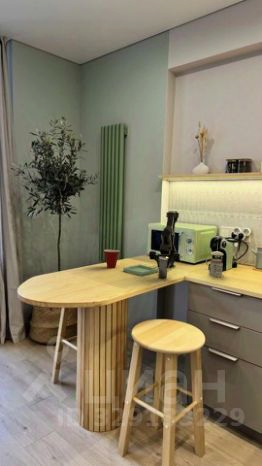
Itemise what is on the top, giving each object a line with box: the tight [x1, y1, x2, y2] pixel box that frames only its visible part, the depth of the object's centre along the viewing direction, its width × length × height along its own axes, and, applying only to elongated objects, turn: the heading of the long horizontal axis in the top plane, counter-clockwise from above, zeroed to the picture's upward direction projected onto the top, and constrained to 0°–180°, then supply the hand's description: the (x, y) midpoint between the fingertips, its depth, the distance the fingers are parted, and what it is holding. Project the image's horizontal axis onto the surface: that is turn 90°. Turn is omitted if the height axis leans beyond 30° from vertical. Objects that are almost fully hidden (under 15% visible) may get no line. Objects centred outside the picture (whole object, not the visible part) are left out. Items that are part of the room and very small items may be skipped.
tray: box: [122, 264, 159, 277], centre depth 208 cm, size 16×16×2 cm
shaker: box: [157, 256, 168, 280], centre depth 193 cm, size 5×5×13 cm
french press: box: [205, 236, 224, 278], centre depth 205 cm, size 10×12×25 cm
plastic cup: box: [103, 249, 121, 269], centre depth 216 cm, size 11×11×12 cm
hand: (162, 267), depth 192 cm, fingers closed on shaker, 5 cm apart
